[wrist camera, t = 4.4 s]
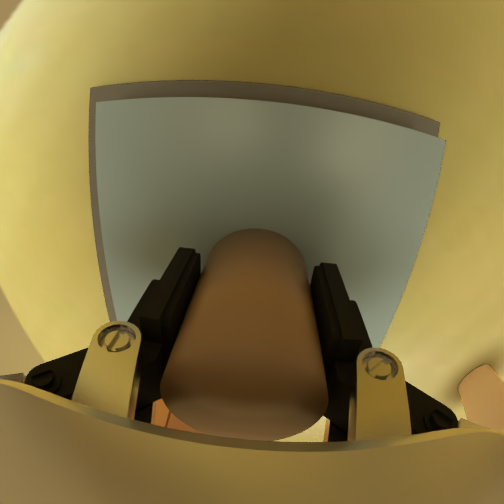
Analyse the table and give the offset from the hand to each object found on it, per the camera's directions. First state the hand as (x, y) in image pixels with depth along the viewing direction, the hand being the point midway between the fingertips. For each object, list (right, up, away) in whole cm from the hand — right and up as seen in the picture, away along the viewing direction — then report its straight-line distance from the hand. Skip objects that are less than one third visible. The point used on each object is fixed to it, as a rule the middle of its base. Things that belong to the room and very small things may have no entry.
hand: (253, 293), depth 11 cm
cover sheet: (0, +1, +2) cm, 2 cm away
